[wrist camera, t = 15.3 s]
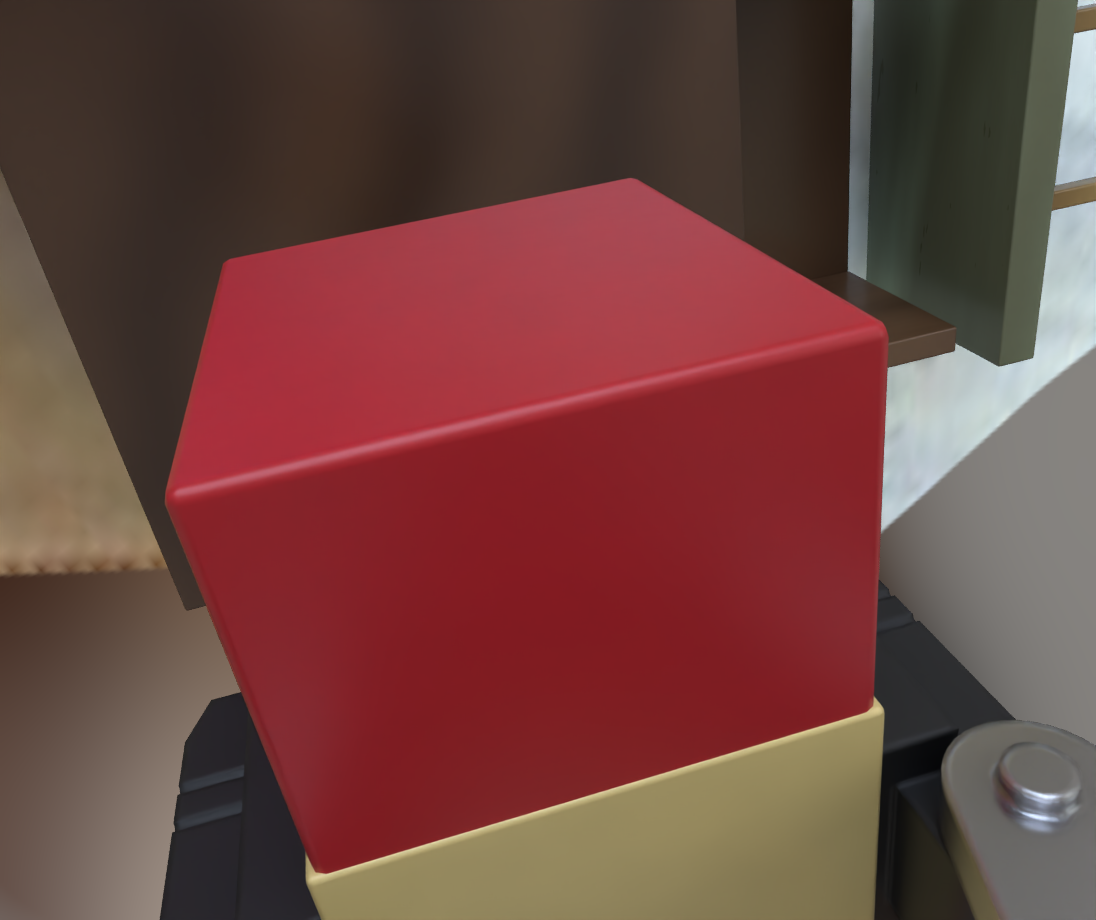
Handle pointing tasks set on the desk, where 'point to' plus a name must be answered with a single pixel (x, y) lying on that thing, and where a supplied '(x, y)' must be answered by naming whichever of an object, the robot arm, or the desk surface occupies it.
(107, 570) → the desk surface
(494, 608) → the red and yellow block
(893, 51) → the drawer
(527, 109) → the cabinet
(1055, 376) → the desk surface
